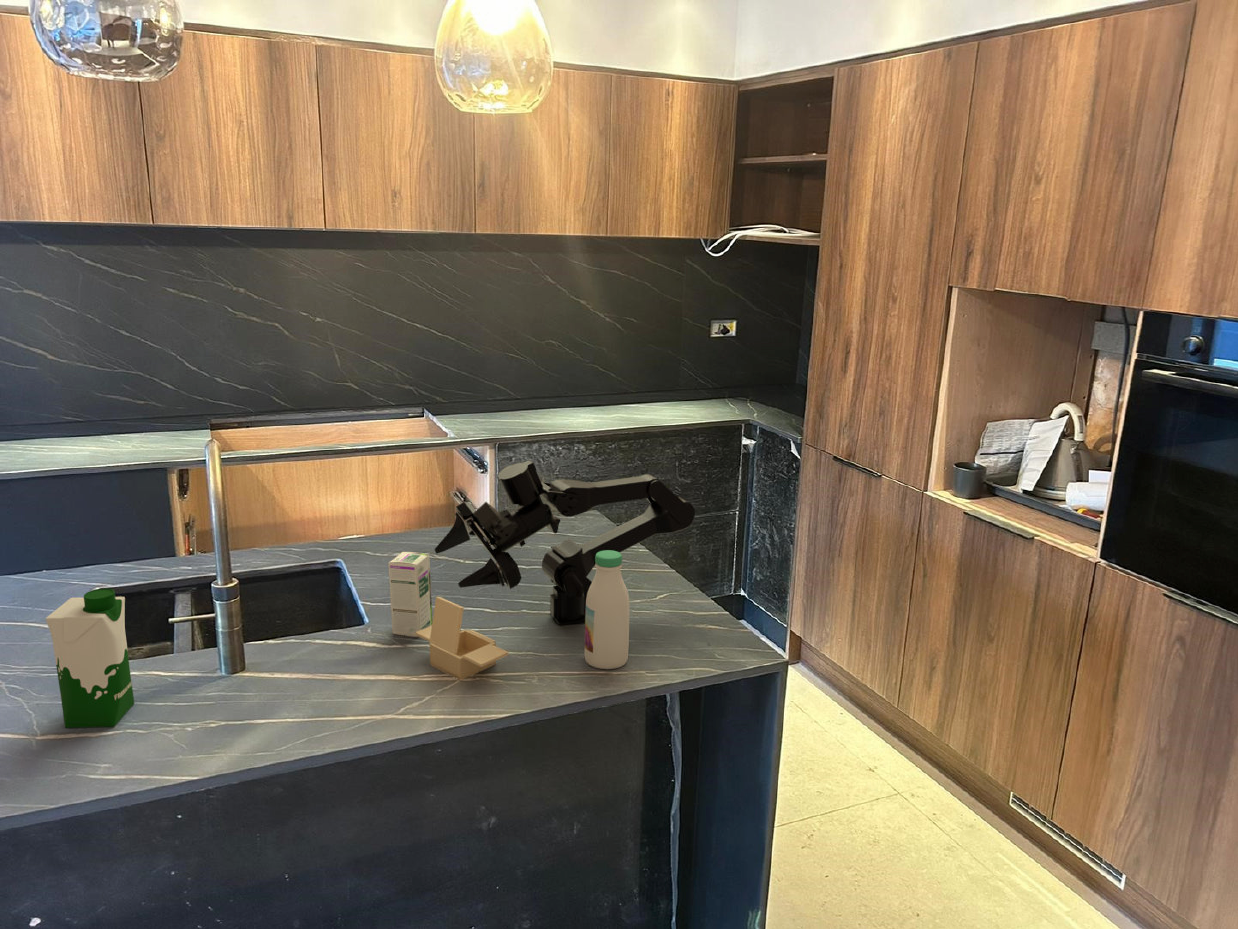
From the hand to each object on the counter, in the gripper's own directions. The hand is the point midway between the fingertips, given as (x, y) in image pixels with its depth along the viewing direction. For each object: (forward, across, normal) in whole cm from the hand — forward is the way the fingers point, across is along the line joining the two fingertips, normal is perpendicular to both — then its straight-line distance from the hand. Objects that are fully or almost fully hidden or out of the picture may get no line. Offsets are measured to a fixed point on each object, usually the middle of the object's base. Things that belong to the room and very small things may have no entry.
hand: (446, 568), depth 162 cm
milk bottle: (-15, +27, +12) cm, 33 cm away
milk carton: (+57, -2, -10) cm, 58 cm away
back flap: (+8, +14, +1) cm, 16 cm away
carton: (+6, +15, +7) cm, 17 cm away
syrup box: (+10, -1, +13) cm, 17 cm away
